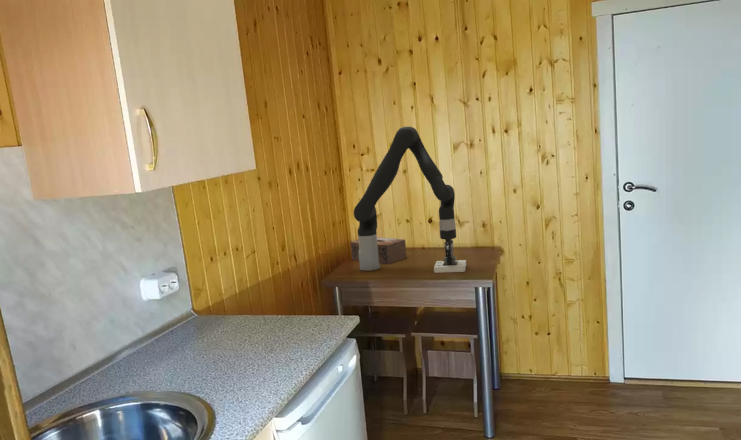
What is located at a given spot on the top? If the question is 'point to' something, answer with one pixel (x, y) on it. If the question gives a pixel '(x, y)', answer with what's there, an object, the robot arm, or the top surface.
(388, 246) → the tissue box cover
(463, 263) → the outlet plate
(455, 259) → the block
